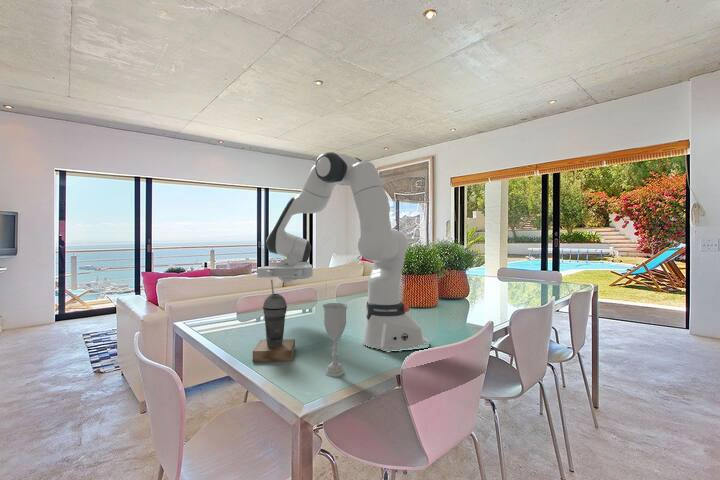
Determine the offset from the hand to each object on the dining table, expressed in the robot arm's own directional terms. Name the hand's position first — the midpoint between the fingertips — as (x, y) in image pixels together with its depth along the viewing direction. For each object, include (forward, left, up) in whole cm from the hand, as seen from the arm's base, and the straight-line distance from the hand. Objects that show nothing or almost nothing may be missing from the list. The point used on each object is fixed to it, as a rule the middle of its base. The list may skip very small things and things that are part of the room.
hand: (283, 273), depth 121 cm
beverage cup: (0, +17, -20) cm, 26 cm away
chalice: (-18, +32, -23) cm, 43 cm away
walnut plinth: (0, +17, -23) cm, 28 cm away
